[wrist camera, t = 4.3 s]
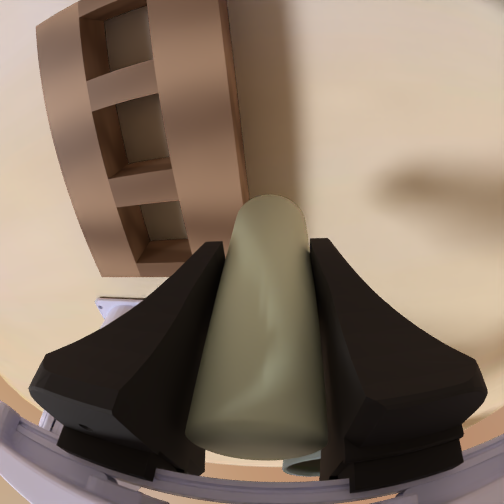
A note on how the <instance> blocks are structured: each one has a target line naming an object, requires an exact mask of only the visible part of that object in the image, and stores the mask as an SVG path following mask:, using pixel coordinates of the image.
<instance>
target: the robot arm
mask: <svg viewBox="0 0 504 504" xmlns="http://www.w3.org/2000/svg"><path fill="white" fill-rule="evenodd" d="M310 259H311V266H312V273H313V279H314V285H315V293H316V301H317V309H318V318H319V327H320V336H321V346H322V357H323V368H324V380H325V393H326V408H327V425H328V443H327V445H326V446H325V447H324V448H323V449H321V459H320V478H319V481H311V482H252V481H238V480H227V479H217V478H209V477H202V476H200V475H201V474H202V473H203V472H205V449H203V448H201V447H199V446H197V445H195V444H194V443H192V442H191V441H190V440H189V439H188V438H187V437H186V435H185V429H186V425H187V420H188V416H189V411H190V406H191V402H192V397H193V393H194V388H195V384H196V380H197V375H198V371H199V366H200V362H201V358H202V353H203V349H204V345H205V341H206V336H207V332H208V328H209V324H210V320H211V316H212V311H213V307H214V303H215V299H216V295H217V291H218V287H219V283H220V279H221V275H222V271H223V267H224V263H225V253H224V247H223V241H210V242H205V243H204V244H203V245H202V246H201V247H200V248H199V249H198V250H197V251H196V252H195V253H194V254H193V255H192V256H191V257H190V258H189V259H188V260H187V261H186V262H185V263H184V264H183V265H182V266H181V267H180V268H179V269H178V270H177V271H176V272H175V273H174V274H173V275H171V276H170V277H169V278H168V279H167V280H166V281H165V282H164V283H163V284H161V285H160V286H159V287H158V288H157V289H156V290H155V291H154V292H153V293H151V294H150V295H149V296H148V297H146V298H145V299H144V300H133V299H110V298H97V299H96V300H95V304H96V305H97V307H98V309H99V311H100V313H101V314H102V316H103V318H104V322H103V324H102V325H101V327H100V329H99V330H97V331H95V332H94V333H92V334H90V335H88V336H86V337H84V338H82V339H80V340H78V341H76V342H74V343H72V344H69V345H67V346H65V347H62V348H60V349H58V350H55V351H53V352H51V353H48V354H46V355H45V357H44V359H43V361H42V363H41V364H40V366H39V368H38V370H37V372H36V374H35V376H34V378H33V380H32V382H31V384H30V386H29V392H30V394H31V396H32V398H33V399H34V400H35V401H36V402H37V403H38V404H39V405H40V406H41V407H42V408H43V409H44V411H43V414H42V416H41V419H40V422H39V426H37V425H35V424H33V423H31V422H29V421H28V420H26V419H24V418H22V417H20V415H19V414H18V413H17V412H16V411H14V410H13V409H12V408H11V407H10V406H8V405H7V404H5V403H4V402H2V401H0V475H1V476H2V477H3V478H4V479H5V480H6V481H7V482H8V483H9V484H10V485H11V486H12V487H13V488H14V489H15V490H16V491H17V492H18V493H20V494H21V495H22V496H23V497H24V498H25V499H26V500H28V501H29V502H30V503H31V504H169V503H168V502H166V501H162V500H159V499H156V498H153V497H150V496H148V495H145V494H143V493H141V492H139V491H138V490H139V489H140V488H141V487H144V488H147V489H151V490H155V491H159V492H164V493H167V494H172V495H177V496H182V497H187V498H193V499H198V500H205V501H212V502H220V503H229V504H334V503H344V502H352V501H359V500H365V499H371V498H377V497H382V496H387V495H391V494H396V493H398V494H397V495H396V497H395V498H392V499H388V500H384V501H380V502H375V503H371V504H504V434H502V435H500V436H498V437H495V438H493V439H492V440H489V441H487V442H484V443H482V444H479V445H477V446H474V447H472V448H469V449H467V450H464V451H462V450H461V446H460V441H459V439H460V438H462V437H463V434H464V433H463V428H462V423H463V422H464V421H465V420H467V419H468V418H469V417H470V416H471V415H472V414H473V413H474V412H475V411H476V410H477V409H478V408H479V407H480V406H481V405H482V404H483V402H484V400H485V398H486V396H487V394H488V392H487V387H486V385H485V382H484V379H483V376H482V374H481V371H480V369H479V366H478V364H477V362H476V360H475V359H473V358H471V357H469V356H467V355H465V354H463V353H461V352H459V351H457V350H455V349H453V348H451V347H449V346H448V345H446V344H444V343H442V342H441V341H439V340H437V339H436V338H434V337H433V336H431V335H429V334H428V333H426V332H425V331H423V330H422V329H420V328H419V327H417V326H416V325H414V324H413V323H412V322H410V321H409V320H408V319H406V318H405V317H403V316H402V315H401V314H400V313H398V312H397V311H396V310H395V309H393V308H392V307H391V306H390V305H389V304H388V303H386V302H385V301H384V300H383V299H382V298H381V297H379V296H378V295H377V294H376V293H375V292H374V291H373V290H372V289H371V288H370V287H369V286H368V285H367V284H366V283H365V282H364V281H363V280H362V278H361V277H360V276H359V275H358V274H357V273H356V272H355V271H354V269H353V268H352V267H351V266H350V265H349V264H348V263H347V261H346V260H345V259H344V258H343V256H342V255H341V254H340V253H339V251H338V250H337V249H336V248H335V246H334V245H333V244H332V242H331V241H330V240H329V239H328V238H310Z"/></svg>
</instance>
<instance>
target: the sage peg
mask: <svg viewBox="0 0 504 504" xmlns="http://www.w3.org/2000/svg"><path fill="white" fill-rule="evenodd" d="M185 435H186V437H187V438H188V439H189V440H190V441H191V442H192V443H194V444H195V445H197V446H199V447H201V448H203V449H205V450H208V451H211V452H214V453H217V454H220V455H224V456H229V457H234V458H240V459H249V460H285V459H292V458H298V457H303V456H306V455H310V454H313V453H315V452H317V451H319V450H321V449H323V448H324V447H325V446H326V445H327V443H328V425H327V408H326V393H325V380H324V368H323V357H322V346H321V336H320V327H319V318H318V309H317V301H316V293H315V285H314V279H313V273H312V266H311V259H310V249H309V243H308V236H307V230H306V223H305V218H304V215H303V213H302V211H301V210H300V208H299V207H298V206H297V205H296V204H295V203H294V202H292V201H291V200H289V199H287V198H285V197H283V196H279V195H273V194H267V195H261V196H257V197H255V198H253V199H251V200H249V201H248V202H246V203H245V204H244V205H243V206H242V207H241V209H240V210H239V212H238V214H237V217H236V221H235V225H234V228H233V232H232V236H231V240H230V244H229V248H228V251H227V255H226V259H225V263H224V267H223V271H222V275H221V279H220V283H219V287H218V291H217V295H216V299H215V303H214V307H213V311H212V316H211V320H210V324H209V328H208V332H207V336H206V341H205V345H204V349H203V353H202V358H201V362H200V366H199V371H198V375H197V380H196V384H195V388H194V393H193V397H192V402H191V406H190V411H189V416H188V420H187V425H186V429H185Z"/></svg>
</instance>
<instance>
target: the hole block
mask: <svg viewBox="0 0 504 504" xmlns="http://www.w3.org/2000/svg"><path fill="white" fill-rule="evenodd" d="M146 5H147V9H148V19H149V28H150V37H151V45H152V53H153V59H152V60H148V61H145V62H141V63H138V64H134V65H131V66H128V67H125V68H122V69H119V70H116V71H113V72H110V67H109V60H108V53H107V45H106V36H105V26H104V21H106V20H108V19H110V18H113V17H115V16H118V15H121V14H123V13H126V12H129V11H131V10H134V9H137V8H140V7H143V6H146ZM36 38H37V50H38V60H39V68H40V76H41V83H42V89H43V95H44V100H45V106H46V111H47V116H48V120H49V125H50V129H51V134H52V138H53V142H54V146H55V149H56V153H57V157H58V160H59V164H60V167H61V171H62V174H63V177H64V181H65V184H66V187H67V190H68V193H69V196H70V199H71V202H72V205H73V208H74V210H75V213H76V216H77V219H78V221H79V224H80V226H81V229H82V232H83V234H84V237H85V239H86V242H87V244H88V246H89V249H90V251H91V254H92V256H93V258H94V260H95V263H96V265H97V267H98V269H99V272H100V274H101V276H102V277H170V276H171V275H173V274H174V273H175V272H176V271H177V270H178V269H179V268H180V267H181V266H182V265H183V264H184V263H185V262H186V261H187V260H188V259H189V258H190V257H191V256H192V255H193V254H194V253H195V252H196V251H197V250H198V249H199V248H200V247H201V246H202V245H203V244H204V243H205V242H210V241H223V247H224V253H225V259H226V255H227V251H228V248H229V244H230V240H231V236H232V232H233V228H234V225H235V221H236V217H237V214H238V212H239V210H240V209H241V207H242V206H243V205H244V204H245V203H246V202H248V201H249V192H248V184H247V175H246V166H245V157H244V148H243V139H242V131H241V122H240V113H239V105H238V96H237V87H236V79H235V70H234V62H233V53H232V44H231V36H230V27H229V19H228V11H227V2H226V0H80V1H78V2H76V3H74V4H73V5H71V6H69V7H67V8H65V9H64V10H62V11H60V12H58V13H57V14H55V15H53V16H52V17H50V18H48V19H47V20H45V21H44V22H42V23H41V24H39V25H38V26H36ZM156 93H158V94H159V100H160V106H161V112H162V117H163V123H164V129H165V134H166V139H167V145H168V150H169V155H170V157H165V158H159V159H153V160H147V161H141V162H135V163H130V164H128V160H127V156H126V151H125V147H124V143H123V138H122V134H121V129H120V124H119V119H118V114H117V109H116V104H118V103H121V102H125V101H128V100H132V99H136V98H140V97H144V96H148V95H152V94H156ZM169 201H179V202H180V206H181V211H182V215H183V219H184V224H185V228H186V232H187V236H188V239H175V240H156V241H150V239H149V236H148V233H147V229H146V226H145V223H144V219H143V216H142V213H141V209H140V206H139V205H141V204H150V203H160V202H169Z"/></svg>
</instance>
